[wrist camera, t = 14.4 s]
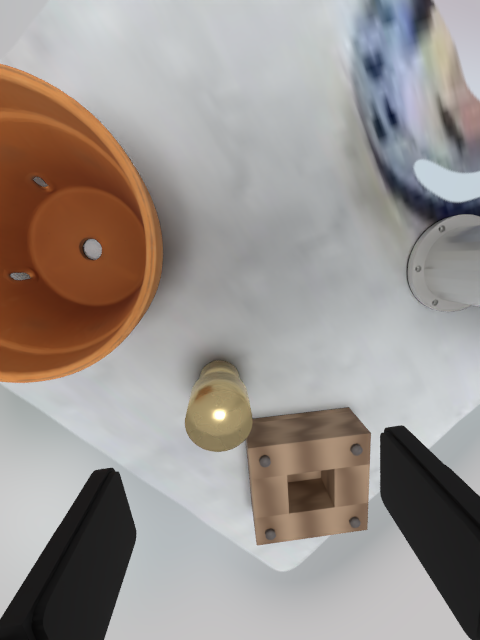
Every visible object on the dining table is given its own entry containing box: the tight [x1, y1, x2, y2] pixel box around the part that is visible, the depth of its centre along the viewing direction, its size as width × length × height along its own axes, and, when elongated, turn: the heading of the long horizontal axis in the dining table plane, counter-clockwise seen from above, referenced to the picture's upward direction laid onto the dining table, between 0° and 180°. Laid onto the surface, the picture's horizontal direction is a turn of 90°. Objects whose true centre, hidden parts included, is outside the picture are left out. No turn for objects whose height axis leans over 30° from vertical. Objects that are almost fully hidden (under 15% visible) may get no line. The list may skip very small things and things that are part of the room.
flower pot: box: [0, 64, 163, 383], centre depth 25 cm, size 21×21×15 cm
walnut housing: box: [246, 407, 371, 545], centre depth 38 cm, size 16×16×6 cm
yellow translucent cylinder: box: [185, 360, 252, 452], centre depth 32 cm, size 7×7×10 cm
